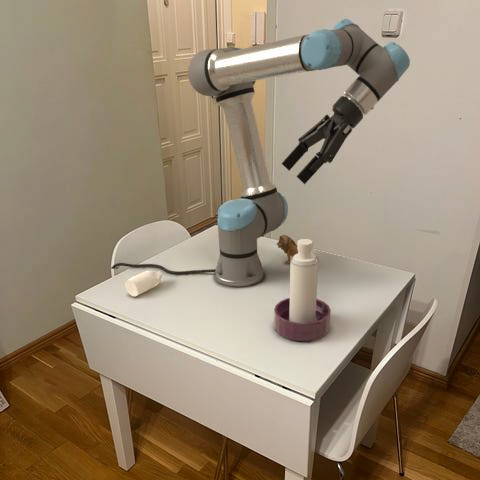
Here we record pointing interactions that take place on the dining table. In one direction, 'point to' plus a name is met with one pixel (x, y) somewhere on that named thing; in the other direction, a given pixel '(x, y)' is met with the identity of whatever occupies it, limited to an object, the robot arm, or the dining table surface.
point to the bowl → (301, 329)
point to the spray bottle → (303, 283)
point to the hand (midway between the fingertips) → (292, 173)
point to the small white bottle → (143, 282)
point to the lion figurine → (287, 246)
